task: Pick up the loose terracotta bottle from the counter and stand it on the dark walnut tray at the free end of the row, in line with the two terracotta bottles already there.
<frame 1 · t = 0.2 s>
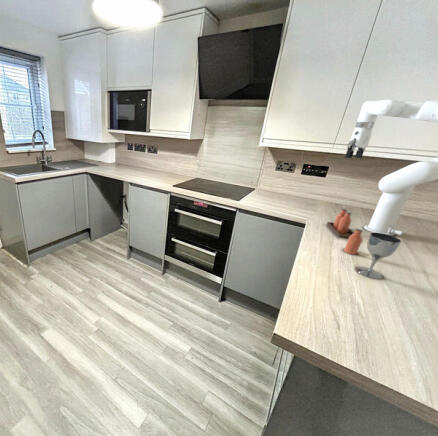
hand: (353, 157, 136), 37 cm above the worktop, tool pointing down, fingers open, 9 cm apart
loose bottle: (350, 252, 104), on the worktop
tray bottle 1: (337, 227, 129), point 1 cm above the worktop, touching tray
tray: (341, 232, 125), on the worktop
wine glass: (368, 273, 89), on the worktop
tray bottle 2: (341, 231, 124), point 1 cm above the worktop, touching tray
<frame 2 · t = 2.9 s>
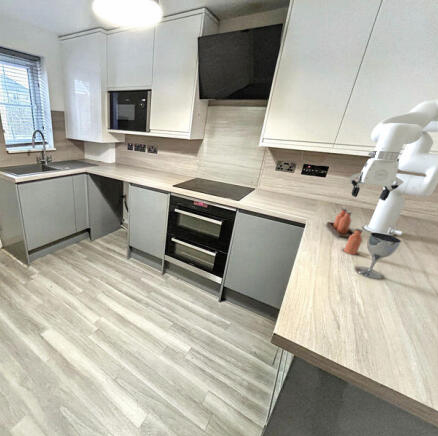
hand: (367, 197, 99), 24 cm above the worktop, tool pointing down, fingers open, 9 cm apart
nothing on the worktop moved.
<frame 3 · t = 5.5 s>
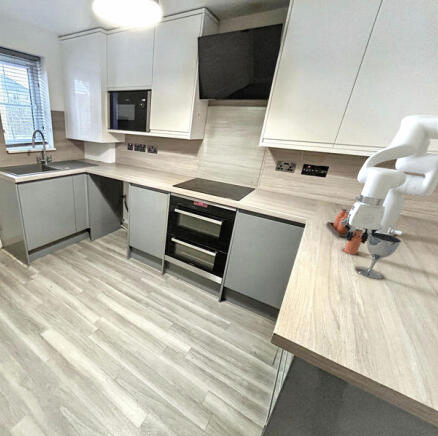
hand: (354, 240, 102), 6 cm above the worktop, tool pointing down, fingers closed on loose bottle, 4 cm apart
loose bottle: (350, 252, 104), on the worktop, touching gripper
everything else where it was.
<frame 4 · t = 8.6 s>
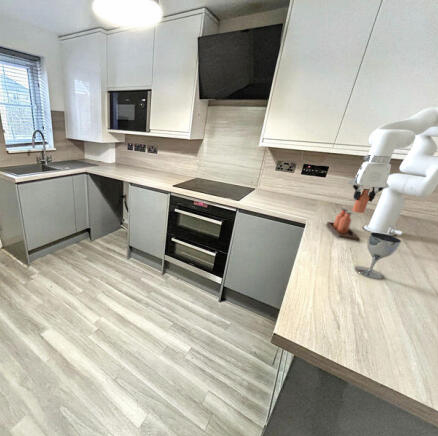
hand: (362, 199, 109), 21 cm above the worktop, tool pointing down, fingers closed on loose bottle, 4 cm apart
loose bottle: (358, 211, 111), point 15 cm above the worktop, touching gripper
everything else where it was.
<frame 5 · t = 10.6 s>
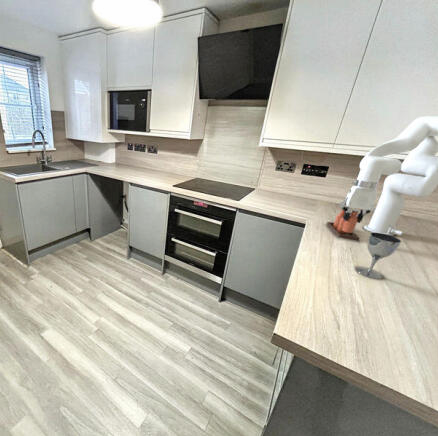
hand: (351, 220, 116), 9 cm above the worktop, tool pointing down, fingers closed on loose bottle, 4 cm apart
loose bottle: (347, 231, 118), point 3 cm above the worktop, touching gripper
everything else where it was.
when the fingers open (6 cm above the worktop, at t = 11.8 s): loose bottle stays where it is, resting on tray.
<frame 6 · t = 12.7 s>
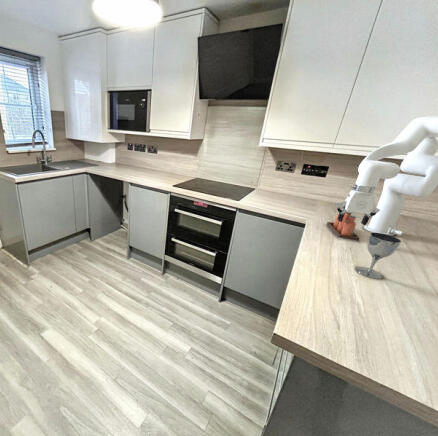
hand: (351, 222, 117), 8 cm above the worktop, tool pointing down, fingers open, 9 cm apart
loose bottle: (345, 236, 119), point 1 cm above the worktop, touching tray
everything else where it was.
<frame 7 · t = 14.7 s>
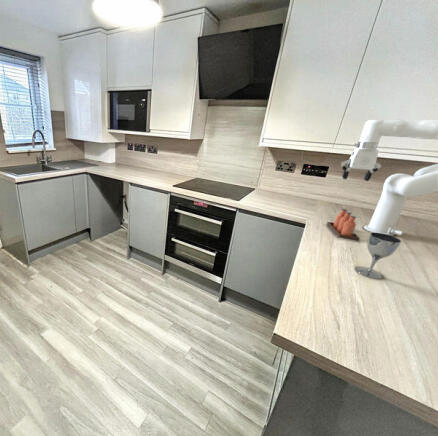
hand: (355, 179, 125), 27 cm above the worktop, tool pointing down, fingers open, 9 cm apart
nothing on the worktop moved.
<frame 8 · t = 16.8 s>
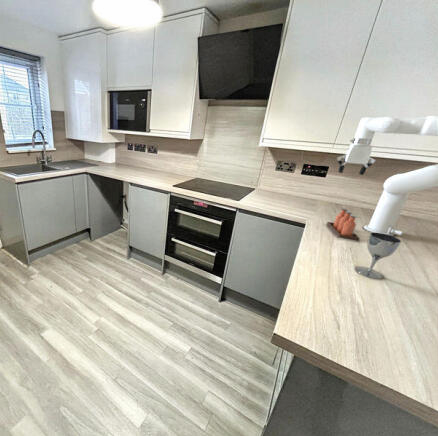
hand: (350, 173, 134), 28 cm above the worktop, tool pointing down, fingers open, 9 cm apart
nothing on the worktop moved.
at the end: loose bottle 0.2 cm from the target spot in the tray, point 0.6 cm above the tray's base; loose bottle tilted 0°; the gripper is holding nothing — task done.
